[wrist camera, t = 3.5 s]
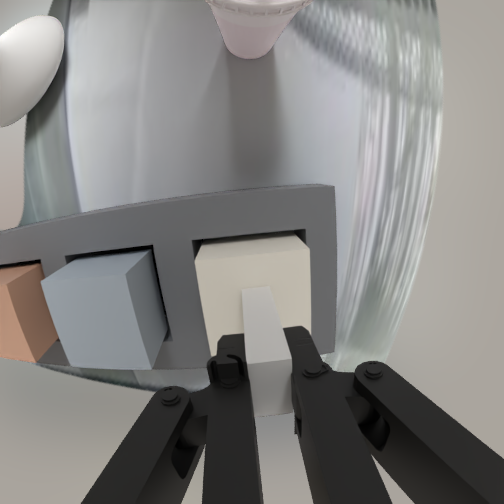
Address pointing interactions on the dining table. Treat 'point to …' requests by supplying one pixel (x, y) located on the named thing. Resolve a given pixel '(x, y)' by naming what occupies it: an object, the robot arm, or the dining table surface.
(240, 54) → the smoothie
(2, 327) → the key terracotta
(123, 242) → the console
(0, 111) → the flower in vase
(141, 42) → the dining table surface
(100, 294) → the key slate
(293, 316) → the key cream
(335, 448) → the robot arm
